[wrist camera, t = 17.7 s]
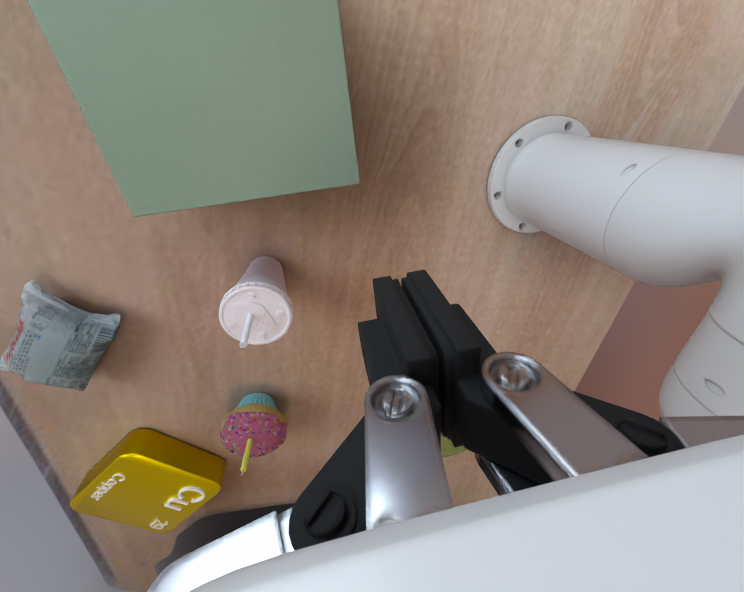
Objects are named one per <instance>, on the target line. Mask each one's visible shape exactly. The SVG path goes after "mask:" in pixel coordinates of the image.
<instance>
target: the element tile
mask: <svg viewBox="0 0 744 592" xmlns="http://www.w3.org/2000/svg"><path fill="white" fill-rule="evenodd" d="M225 468H226V463H225V461H224V460H223V459H222V458H220V457H218V456H216V455H213V454H211V453H208V452H206V451H204V450H201V449H199V448H196V447H194V446H191V445H189V444H186V443H184V442H181V441H179V440H176V439H174V438H171V437H169V436H167V435H164V434H162V433H159V432H157V431H154V430H151V429H144V428H143V429H137V430H134V431H132V432H131V433H129V434H128V435H127V436H126V437H125V438H124V439H123V440H122V441H121V442H120V443H119V444H118V445H117V446H116V447H115V448H114V449H113V450H111V451H110V452H109V453H108V454H107V455H106V456H105V457H104V458H103V459H102V460H101V461H100V462H99V463H98V464H97V465H96V466H95V467H94V468H93V469H92V470H91V471H89V472H88V473H87V474H86V476H85V478H84V479H83V481H82V483H81V485H80V486H79V488H78V490H77V491H76V493H75V495H74V497H73V498H72V500H71V502H70V506H71V508H72V509H73V510H75V511H77V512H80V513H84V514H88V515H92V516H96V517H100V518H104V519H108V520H112V521H116V522H120V523H124V524H127V525H131V526H135V527H139V528H143V529H147V530H151V531H155V532H161V533H165V532H167V531H170V530H172V529H174V528H175V527H176V526H178V525H179V524H180V523H181V522H183V521H184V520H185V519H186V518H188V517H189V516H190V515H191V514H193V513H194V512H195V511H196V510H198V509H199V508H200V507H201V506H203V505H204V504H205V503H206V502H208V501H209V500H210V499H211V498H213V497H214V496H215V495H216V494H218V492H219V491H220V489H221V487H222V482H223V477H224V472H225Z"/></svg>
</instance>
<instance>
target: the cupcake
mask: <svg viewBox="0 0 744 592" xmlns="http://www.w3.org/2000/svg"><path fill="white" fill-rule="evenodd" d="M286 432H287V418H286V417H285V416H283V415H282V414H281V413H280V412H279V411H277V409H276V406H275V402H274V400H273V399H272V398H271V397H270V396H269V395H267V394H264V393H252V394H249V395H247V396H245V397H244V398H243V399H242V400H241V401H240V403H239V405H238V406H237V407H236V409H235V410H233V411H232V412H231V413H229V414H228V415H227V416H226V417H225V418H224V420H223V423H222V425H221V432H220V435H221V442H223V444H224V445H225V446H226V447H227V449H229V450H230V452H231V451H232V453H235V454H237V455H241V456H242V457H243V456H244V457H243V461H242V465H241V471H242V473H241V476H242V475H243V472H245V471H246V470H247V465H248V461H249V457H259V456H262V455H263V456H264V455H265V454H267V453H270V452H273V451H274V450H275V449H277V448H278V447H279V446H280V445H281V444H282V443H283V442H284V440H285V439H286V435H287V434H286Z"/></svg>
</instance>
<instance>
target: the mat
mask: <svg viewBox="0 0 744 592" xmlns="http://www.w3.org/2000/svg"><path fill="white" fill-rule="evenodd" d="M466 450H468V449H466V448H464V446H460V447H456V448H454V446H453V444H452V442H451V439H450V437H449V436H447V437H443V436H442V434H441V455H442V457H448V456H453V455H457V454H459V453H462V452H464V451H466Z"/></svg>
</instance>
